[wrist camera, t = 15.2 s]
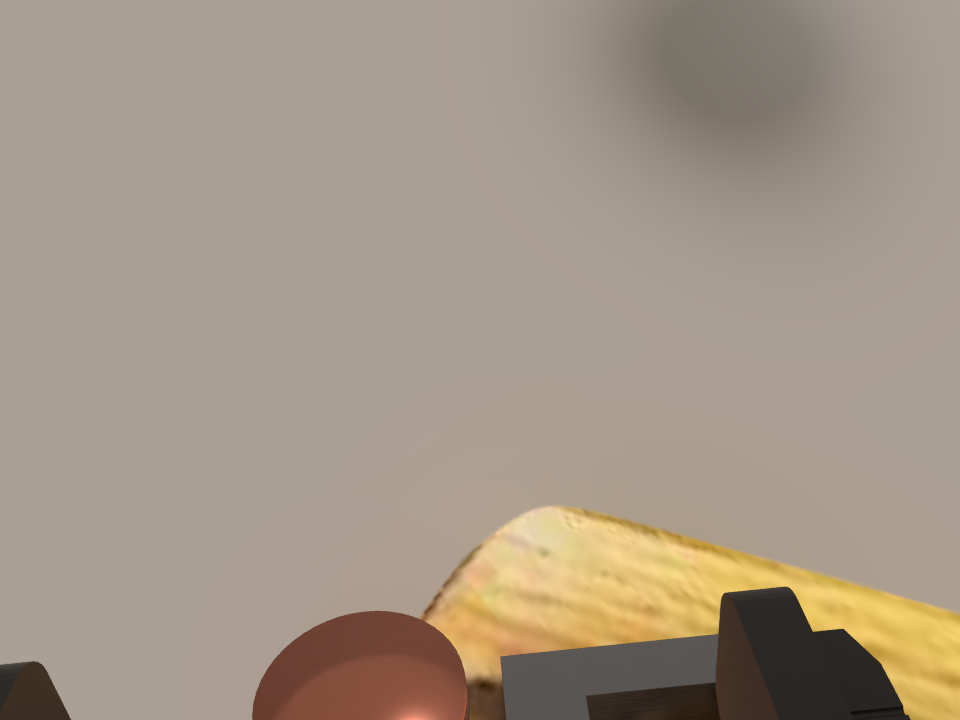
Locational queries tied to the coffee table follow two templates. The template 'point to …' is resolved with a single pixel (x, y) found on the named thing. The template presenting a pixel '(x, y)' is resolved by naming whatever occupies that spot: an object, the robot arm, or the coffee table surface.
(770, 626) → the robot arm
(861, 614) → the coffee table surface
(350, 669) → the capped metal cylinder
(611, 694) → the bore housing
